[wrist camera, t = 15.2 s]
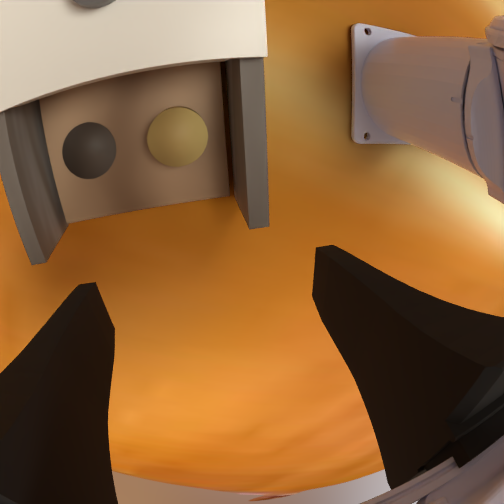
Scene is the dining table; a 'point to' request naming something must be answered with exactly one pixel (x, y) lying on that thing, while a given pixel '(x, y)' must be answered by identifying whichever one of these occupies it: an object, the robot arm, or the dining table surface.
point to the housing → (135, 148)
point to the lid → (117, 40)
